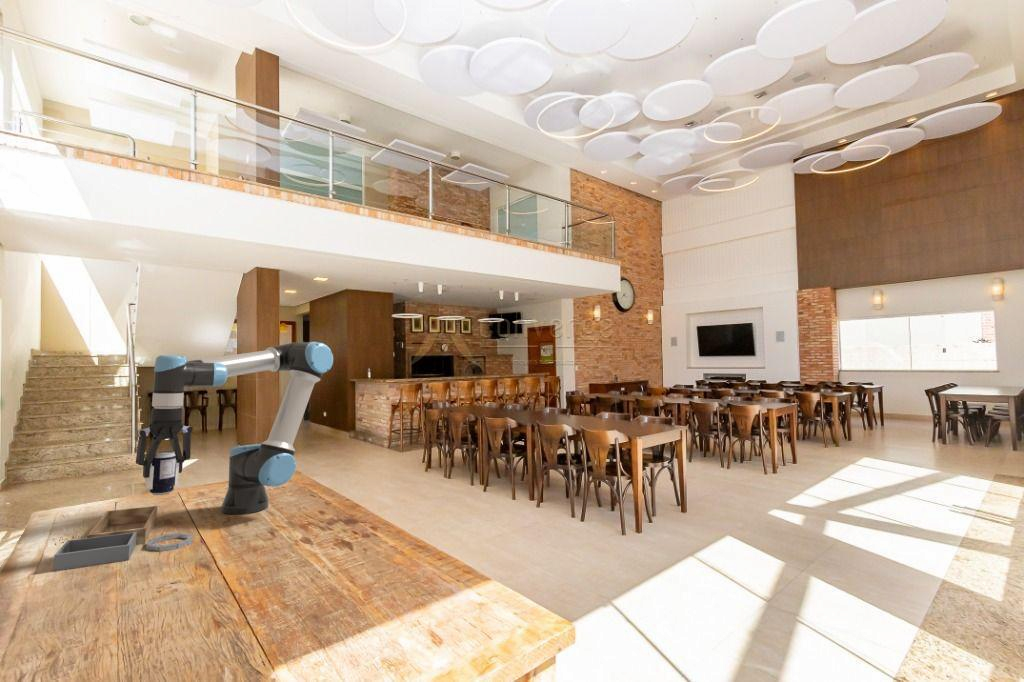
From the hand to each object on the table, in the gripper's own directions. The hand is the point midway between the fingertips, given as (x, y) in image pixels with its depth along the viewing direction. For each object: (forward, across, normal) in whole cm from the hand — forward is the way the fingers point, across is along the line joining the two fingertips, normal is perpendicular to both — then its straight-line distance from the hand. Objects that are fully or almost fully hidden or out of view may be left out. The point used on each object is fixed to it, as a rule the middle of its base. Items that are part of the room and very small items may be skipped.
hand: (161, 486), depth 141 cm
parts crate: (+17, +3, -19) cm, 25 cm away
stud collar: (+17, -3, 0) cm, 17 cm away
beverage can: (+2, 0, 0) cm, 2 cm away
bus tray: (+17, +13, -3) cm, 22 cm away
